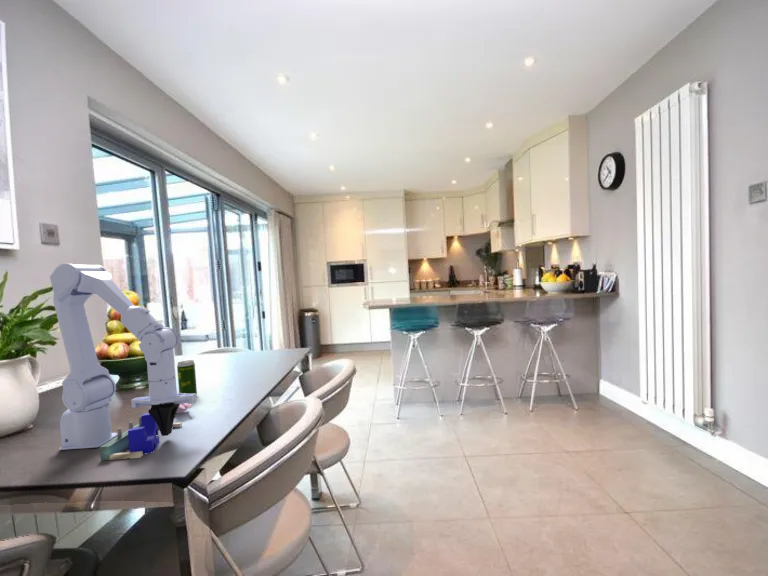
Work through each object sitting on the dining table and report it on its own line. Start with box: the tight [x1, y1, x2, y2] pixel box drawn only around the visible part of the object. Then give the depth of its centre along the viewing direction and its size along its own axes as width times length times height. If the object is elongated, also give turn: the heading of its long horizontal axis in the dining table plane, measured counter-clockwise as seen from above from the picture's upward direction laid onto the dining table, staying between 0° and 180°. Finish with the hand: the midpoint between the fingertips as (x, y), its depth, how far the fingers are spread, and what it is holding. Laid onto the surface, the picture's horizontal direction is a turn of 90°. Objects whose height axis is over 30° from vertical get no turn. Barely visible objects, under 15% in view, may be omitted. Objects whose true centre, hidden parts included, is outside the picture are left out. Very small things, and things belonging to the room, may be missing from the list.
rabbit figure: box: [176, 403, 193, 414], centre depth 113 cm, size 6×6×15 cm
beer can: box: [176, 359, 198, 396], centre depth 129 cm, size 5×5×12 cm
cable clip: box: [127, 412, 160, 455], centre depth 91 cm, size 12×4×6 cm, turn 19°
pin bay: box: [99, 415, 183, 461], centre depth 92 cm, size 8×18×5 cm, turn 1°
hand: (166, 434), depth 92 cm, fingers closed
